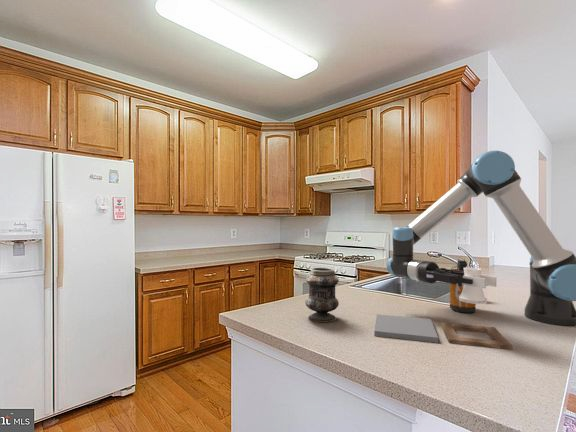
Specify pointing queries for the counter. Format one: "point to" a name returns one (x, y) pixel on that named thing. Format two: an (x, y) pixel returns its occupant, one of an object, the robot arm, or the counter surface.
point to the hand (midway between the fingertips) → (490, 282)
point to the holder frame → (452, 337)
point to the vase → (472, 288)
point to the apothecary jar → (322, 294)
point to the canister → (456, 292)
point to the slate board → (405, 328)
